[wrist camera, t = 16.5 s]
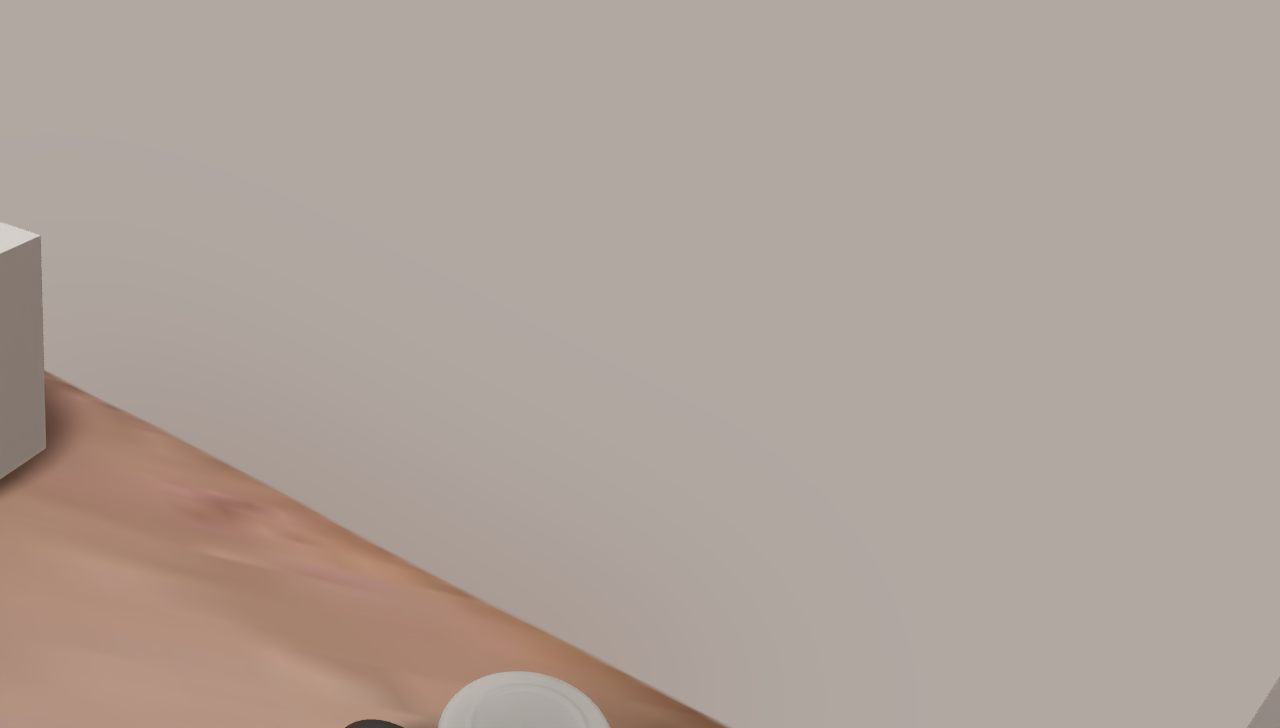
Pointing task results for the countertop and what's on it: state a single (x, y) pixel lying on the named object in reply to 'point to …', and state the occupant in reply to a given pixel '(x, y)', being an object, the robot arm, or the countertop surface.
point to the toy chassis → (373, 724)
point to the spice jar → (521, 704)
